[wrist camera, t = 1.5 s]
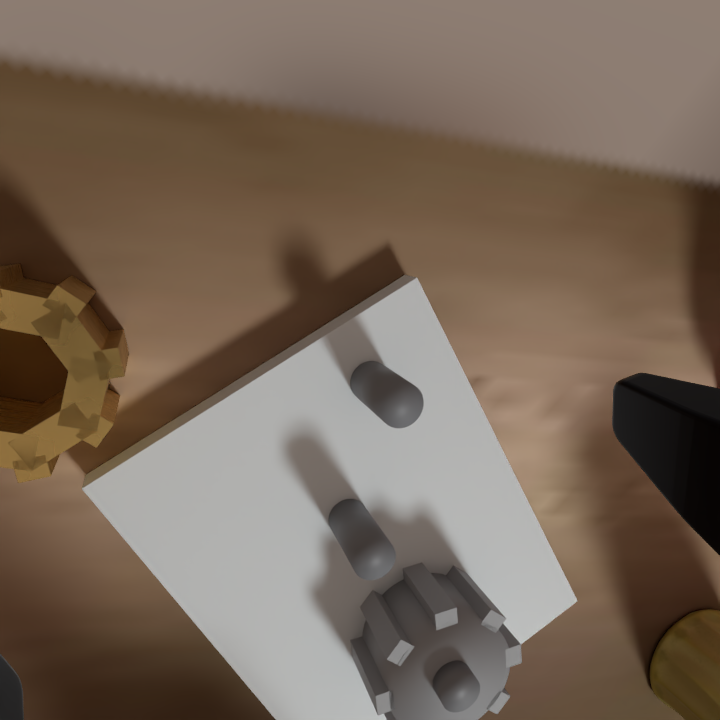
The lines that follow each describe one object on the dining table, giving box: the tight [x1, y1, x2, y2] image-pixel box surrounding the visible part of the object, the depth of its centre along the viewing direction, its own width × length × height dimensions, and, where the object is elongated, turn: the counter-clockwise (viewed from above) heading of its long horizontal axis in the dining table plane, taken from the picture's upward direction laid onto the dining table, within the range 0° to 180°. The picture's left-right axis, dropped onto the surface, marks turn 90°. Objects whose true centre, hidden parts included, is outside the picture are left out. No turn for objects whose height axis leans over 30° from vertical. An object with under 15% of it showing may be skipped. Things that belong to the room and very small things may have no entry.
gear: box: [0, 264, 129, 483], centre depth 19 cm, size 6×6×3 cm
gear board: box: [82, 275, 577, 720], centre depth 23 cm, size 14×18×5 cm
